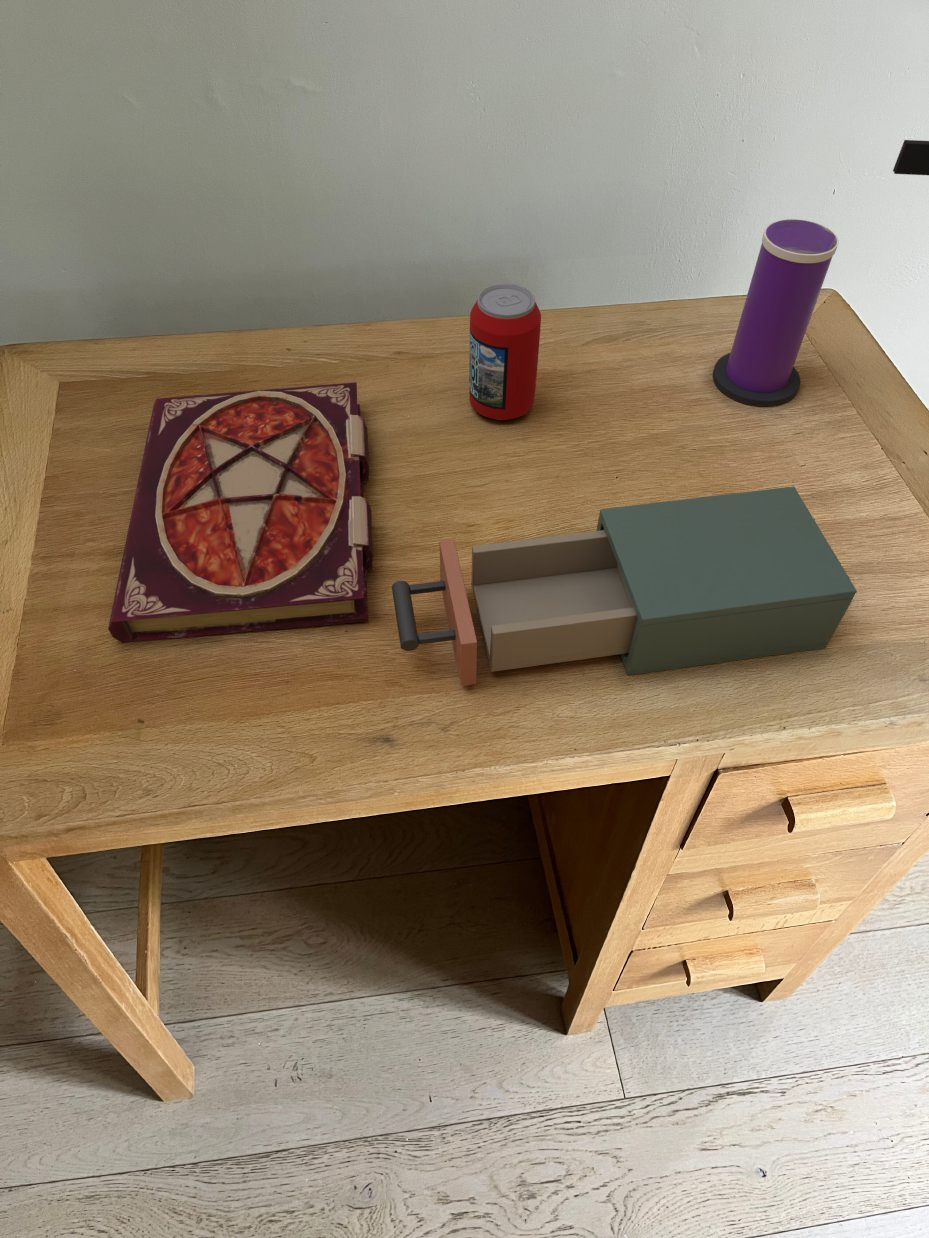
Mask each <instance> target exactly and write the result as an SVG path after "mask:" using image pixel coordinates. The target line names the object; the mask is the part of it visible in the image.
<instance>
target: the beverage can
mask: <svg viewBox="0 0 929 1238" xmlns="http://www.w3.org/2000/svg"><path fill="white" fill-rule="evenodd" d="M541 325H542V313H541V310H540V308H539V306H538V304H537V302H536V297H535V295H534V294H533V291H531V290H529V289H528V288H526V287H524V286H521V285H518V284H513V283H497V284H493V285H490V286H487V287H485V288H484V289H483V290H481V291H480V292H479V293H478V296H477V300H476V301H475V303H474V304H473V306H472V308H471V309H470V312H469V342H468V343H469V348H468V350H469V351H468V353H469V355H468V356H469V357H468V360H469V363H468V391H469V392H468V396H469V397H468V399H469V404H470V406H471V407H472V409H473V410H474V411H475V412H477V413H478V414H479V415H481V416H483V417H486V418H489V419H492V420H497V421H506V420H507V421H508V420H513V419H517V418H519V417H521V416H522V417H523V416H524V415H525V414H527V413H528V412H530V410H531V409H532V408H533V406H534V402H535V396H536V386H537V377H538V364H539V353H540V351H539V350H540V340H541V327H542V326H541Z"/></svg>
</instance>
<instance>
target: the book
mask: <svg viewBox="0 0 929 1238" xmlns="http://www.w3.org/2000/svg"><path fill="white" fill-rule="evenodd" d="M149 421H150V422H149V426H148V430H147V435H146V440H145V445H144V450H143V456H142V460H141V465H140V470H139V474H138V480H137V485H136V489H135V495H134V498H133V499H134V500H133V504H132V509H131V514H130V517H129V524H128V527H127V533H126V539H125V543H124V549H123V553H122V558H121V563H120V564H121V565H120V569H119V572H118V573H119V574H118V578H117V583H116V589H115V591H114V598H113V603H112V606H111V613H110V617H109V622H108V627H107V630H108V631H109V633H110V636H111V637H112V638H113V639H115V640H117V641H119V642H121V643H133V642H141V641H142V642H143V641H154V640H155V641H156V640H164V639H166V640H167V639H176V638H189V637H200V636H211V635H222V634H223V635H224V634H233V633H234V634H235V633H246V632H257V631H258V632H259V631H268V630H269V631H270V630H280V629H291V628H302V627H303V628H305V627H313V626H314V627H315V626H327V625H336V624H337V625H338V624H347V623H358V622H359V623H361V622H368V621H369V611H368V610H369V609H368V608H369V607H368V583H367V581H368V580H367V573H369V572H370V571H372V570H373V561H374V549H373V548H374V546H373V544H374V543H373V522H372V521H373V520H372V509H371V506H370V503H369V501H368V498H366V497H364V484H366V483H367V482H369V474H370V458H369V457H370V455H369V435H368V434H369V433H368V426H367V424H366V421H365V418H364V417H363V416H361V405H360V403H358V383H357V382H356V381H353V382H343V383H331V384H330V383H329V384H317V385H305V386H293V387H281V388H269V389H268V388H267V389H260V390H259V389H257V390H245V391H235V392H222V393H219V392H218V393H208V394H197V395H185V396H182V395H181V396H172V397H171V396H170V397H159V398H158V397H157V398H156V399H155V401H154V403H153V406H152V410H151V415H150V420H149Z"/></svg>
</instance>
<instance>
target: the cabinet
mask: <svg viewBox="0 0 929 1238" xmlns="http://www.w3.org/2000/svg"><path fill="white" fill-rule="evenodd" d="M600 530H605V532H606V535H607V538H608V540H609V543H610V546H611V548H612V551H613V553H614V556H615V559H616V561H617V564H618V567H619V569H620V572H621V575H622V577H623V580H624V582H625V585H626V588H627V590H628V593H629V596H630V598H631V601H632V604H633V606H634V609H635V611H636V614H637V617H638V619H637V623H636V627H635V631H634V635H633V639H632V643H631V646H630V650H629V653H625V654H619V655H620V658H621V660H622V663H623V667H624V669H625V672H626V675H627V676H634V675H635V676H636V675H641V674H649V673H655V672H656V673H657V672H665V671H671V670H676V669H678V670H679V669H684V668H690V667H691V668H692V667H698V666H706V665H713V664H720V663H727V662H734V661H741V660H750V659H756V658H763V657H770V656H776V655H784V654H792V653H800V652H806V651H814V650H820V649H826V648H827V646H828V644H829V643H830V641H831V639H832V638H833V635H834V634H835V632H836V630H837V628H838V626H839V625H840V623H841V621H842V619H843V617H844V616H845V614H846V612H847V611H848V609H849V607H850V605H851V603H852V602H853V599H854V597H855V596H856V594H857V592H858V591H857V589H856V587H855V585H854V584H853V582H852V580H851V578H850V577H849V575H848V573H847V572H846V570H845V568H844V567H843V565H842V564H841V562H840V561H839V558H838V557H837V555H836V554H835V552H834V551H833V548H832V547H831V545H830V544H829V542H828V540H827V539H826V537H825V535H824V534H823V532H822V530H821V528H820V527H819V525H818V523H817V522H816V520H815V518H814V517H813V515H812V514H811V512H810V510H809V508H808V507H807V505H806V503H805V502H804V500H803V498H802V497H801V495H800V494H799V492H798V491H797V489H796V487H795V486H787V487H786V486H785V487H778V488H770V489H768V488H767V489H761V490H753V491H743V492H736V493H735V492H734V493H727V494H726V493H725V494H717V495H710V496H700V497H693V498H685V499H684V498H683V499H676V500H666V501H657V502H650V503H642V504H634V505H633V504H632V505H624V506H616V507H615V506H614V507H607V508H601V509H599V515H598V521H597V525H596V530H595V531H600Z"/></svg>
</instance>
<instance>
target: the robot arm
mask: <svg viewBox="0 0 929 1238" xmlns="http://www.w3.org/2000/svg"><path fill="white" fill-rule="evenodd" d="M892 171H893V173H894V175H909V176H910V175H911V176H929V140H920V139H919V140H916V139H904V141H903V142H902V146H901V148H900V151H899V154H898V155H897V158H896V160H895V163H894V167H893V169H892Z"/></svg>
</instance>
